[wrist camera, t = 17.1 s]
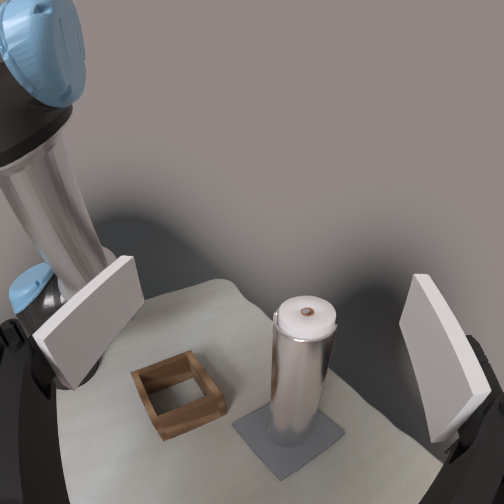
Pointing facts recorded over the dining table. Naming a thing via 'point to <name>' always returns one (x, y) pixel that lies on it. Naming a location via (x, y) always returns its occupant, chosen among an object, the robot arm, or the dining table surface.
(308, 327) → the shiny metal cylinder
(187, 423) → the square wooden frame
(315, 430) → the mat
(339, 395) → the dining table surface
